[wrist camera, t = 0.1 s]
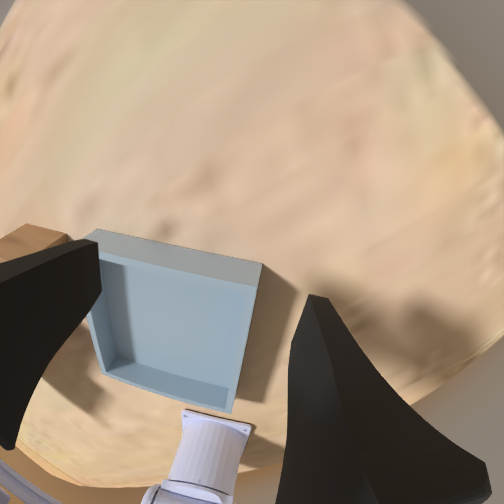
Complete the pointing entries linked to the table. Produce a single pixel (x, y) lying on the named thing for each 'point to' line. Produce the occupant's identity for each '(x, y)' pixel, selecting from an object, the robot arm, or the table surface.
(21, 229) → the walnut block
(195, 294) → the tray
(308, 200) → the table surface
